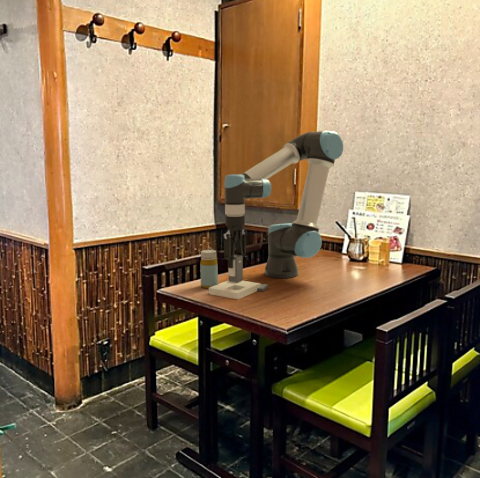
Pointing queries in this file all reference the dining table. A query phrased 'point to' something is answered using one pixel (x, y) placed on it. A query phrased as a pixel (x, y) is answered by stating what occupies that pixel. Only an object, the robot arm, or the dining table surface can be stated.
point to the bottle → (208, 269)
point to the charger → (237, 269)
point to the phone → (262, 287)
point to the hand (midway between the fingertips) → (235, 274)
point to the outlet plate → (234, 289)
